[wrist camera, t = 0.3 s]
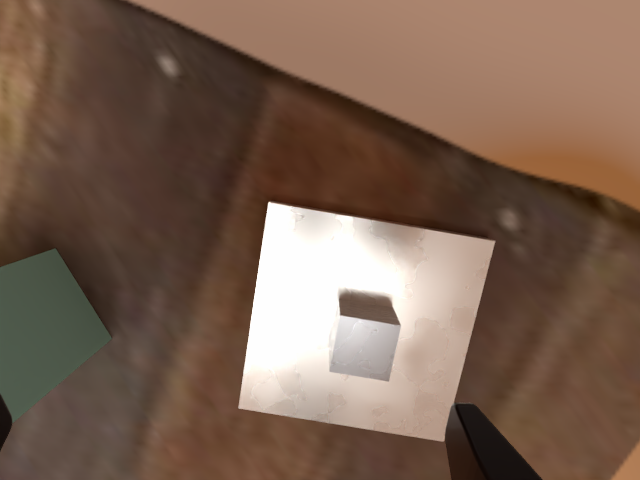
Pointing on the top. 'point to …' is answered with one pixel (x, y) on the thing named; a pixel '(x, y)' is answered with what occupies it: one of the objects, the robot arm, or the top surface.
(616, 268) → the top surface
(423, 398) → the plate
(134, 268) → the top surface
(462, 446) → the robot arm
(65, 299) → the tall mint green block
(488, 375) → the top surface
